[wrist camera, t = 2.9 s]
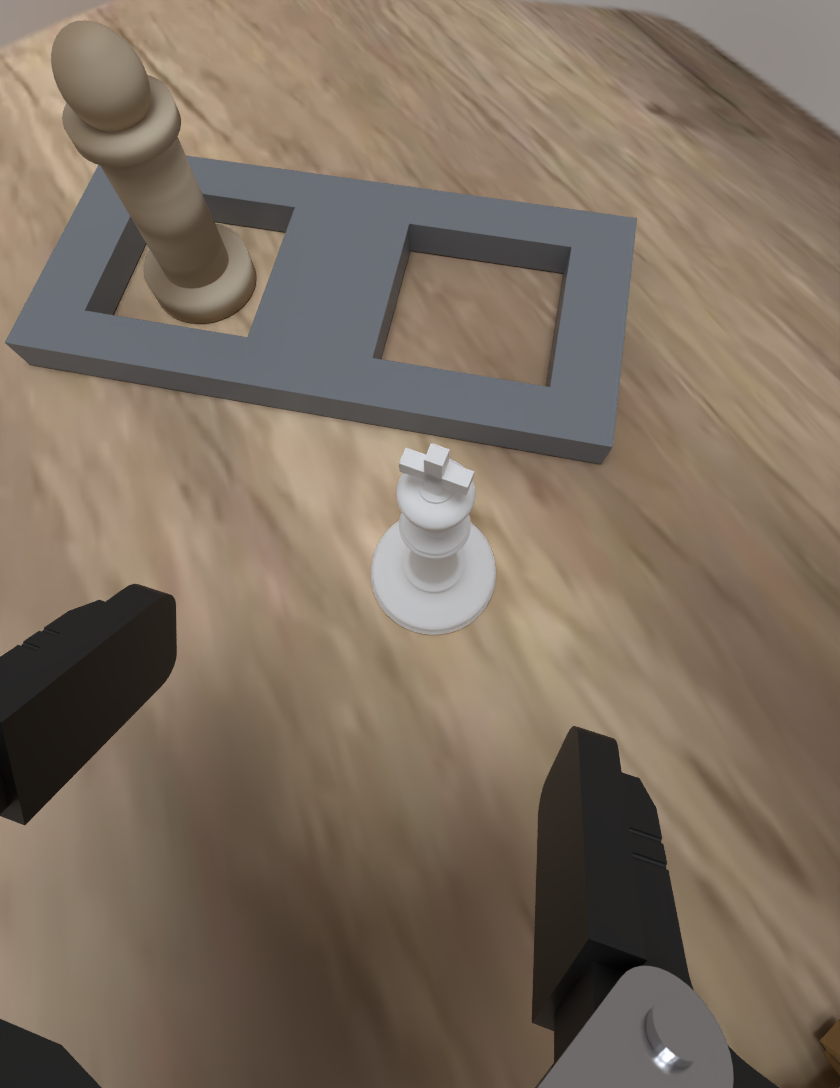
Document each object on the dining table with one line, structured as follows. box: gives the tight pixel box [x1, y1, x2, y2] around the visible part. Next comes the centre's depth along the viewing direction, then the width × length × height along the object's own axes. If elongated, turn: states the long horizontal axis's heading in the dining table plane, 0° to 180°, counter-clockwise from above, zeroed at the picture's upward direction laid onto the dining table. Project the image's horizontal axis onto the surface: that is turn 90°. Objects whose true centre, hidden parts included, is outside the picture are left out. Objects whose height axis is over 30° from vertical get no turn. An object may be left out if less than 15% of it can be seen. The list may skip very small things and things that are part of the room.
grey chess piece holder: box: [5, 156, 637, 464], centre depth 25 cm, size 26×12×2 cm, turn 78°
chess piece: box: [371, 443, 496, 635], centre depth 16 cm, size 5×5×10 cm
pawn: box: [51, 21, 256, 324], centre depth 21 cm, size 5×5×10 cm
